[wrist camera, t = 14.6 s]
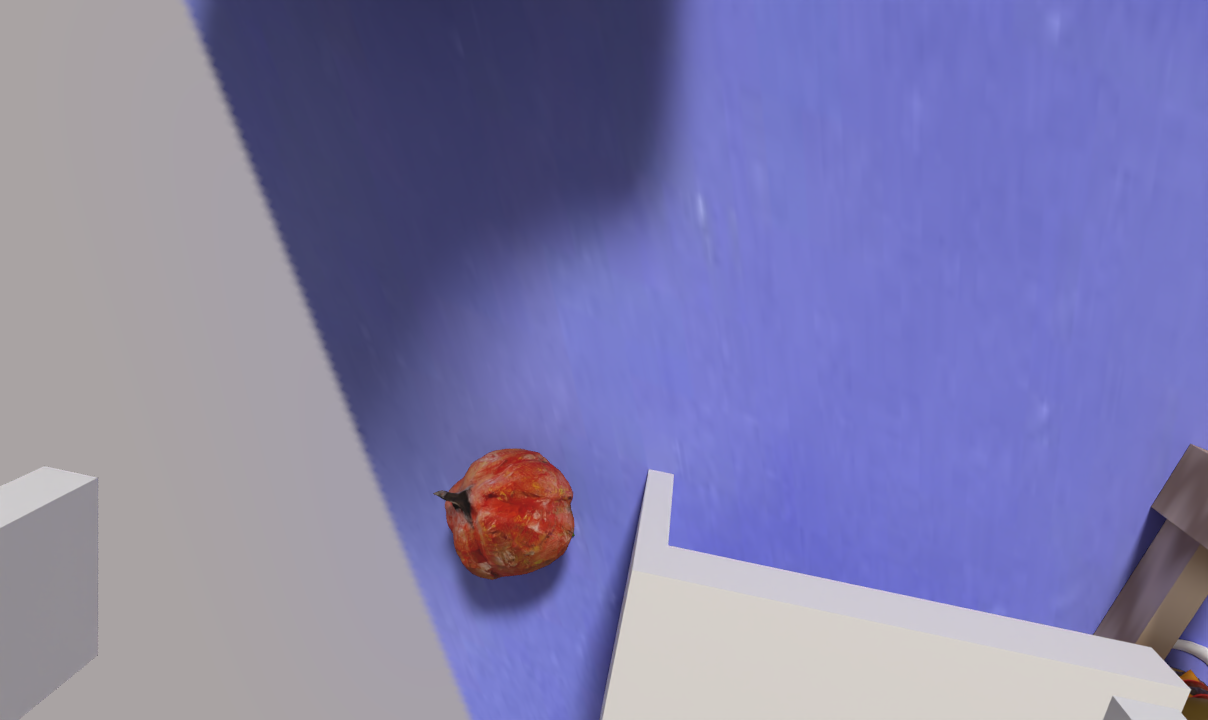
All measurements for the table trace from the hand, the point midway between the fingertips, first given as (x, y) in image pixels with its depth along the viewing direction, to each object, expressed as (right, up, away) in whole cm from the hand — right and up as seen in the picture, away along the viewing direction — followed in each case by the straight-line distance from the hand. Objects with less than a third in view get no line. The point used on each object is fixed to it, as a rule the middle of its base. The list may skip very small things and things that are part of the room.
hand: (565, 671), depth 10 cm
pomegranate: (-4, -4, +38) cm, 38 cm away
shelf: (+14, -12, +37) cm, 42 cm away
